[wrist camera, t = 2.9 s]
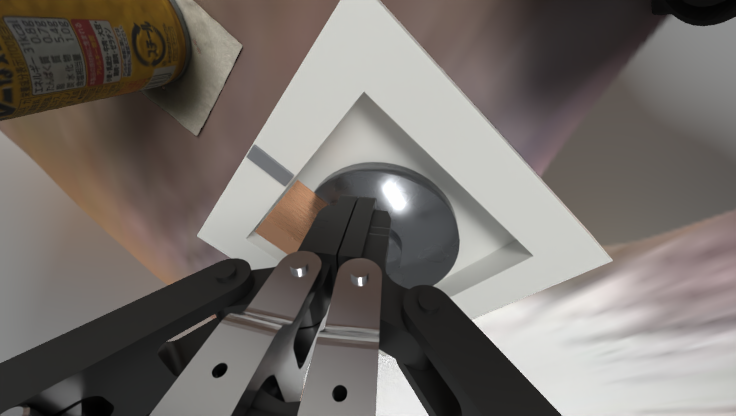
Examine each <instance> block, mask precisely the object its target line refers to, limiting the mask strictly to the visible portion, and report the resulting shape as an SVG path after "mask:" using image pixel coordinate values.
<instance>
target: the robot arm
mask: <svg viewBox="0 0 736 416" xmlns="http://www.w3.org/2000/svg"><path fill="white" fill-rule="evenodd" d="M376 207H377V198H372V197H362V196H359V197H358V196H351V195H340V197H339V199H338V201H337V203H336V205H335V206H334V205H327V206H325V207H324V208H323V209H321V210H320V211H319V212H318V214H317V216H316V218H315V220H314V221H313V223H312V225H311V228H310V229H309V230H308V232H307V234H306V236H305V238H304V239H303V241H302V243H301V245H300V247H299V249H298V250H297V252H293V253H291V254H289V255H287V256H285V257H284V258H283V259H282V260H281V261H280V262H279V263H278V265H277V266H276V267H271V268H263V269H255V270H251V267H250V265H249V263H248V262H247V261H245V260H243V259H239V258H232V259H226V260H223V261H220V262H218V263H216V264H214V265H212V266H209V267H207V268H205V269H203V270H201V271H199V272H196V273H194V274H192V275H190V276H188V277H186V278H183V279H181V280H179V281H177V282H175V283H173V284H171V285H168V286H166V287H164V288H162V289H160V290H158V291H155V292H153V293H151V294H149V295H147V296H145V297H143V298H140V299H138V300H136V301H134V302H132V303H130V304H127V305H125V306H123V307H121V308H119V309H117V310H114V311H112V312H110V313H108V314H106V315H104V316H102V317H100V318H97V319H95V320H93V321H91V322H89V323H86V324H84V325H82V326H80V327H78V328H76V329H73V330H71V331H69V332H67V333H65V334H63V335H61V336H59V337H56V338H54V339H52V340H50V341H48V342H45V343H43V344H41V345H39V346H37V347H35V348H32V349H30V350H28V351H26V352H24V353H22V354H20V355H17V356H15V357H13V358H11V359H9V360H7V361H4V362H2V363H0V416H375V414H376V394H377V374H378V354H379V350H381V351H383V352H385V353H386V354H388V355H390V356H392V357H394V358H395V359H396V361H397V364H398V366H399V367H400V369H401V371H402V372H403V374H404V376H405V377H406V379H407V380H408V382H409V384H410V385H411V387H412V389H413V390H414V392H415V394H416V395H417V397H418V398H419V400H420V402H421V403H422V405H423V407H424V408H425V410H426V411H427V413H428V415H429V416H562V415H561V414H560V413H559V412H558V411H557V410H556V409H555V408H554V407H553V406H552V405H551V404H550V403H549V401H548V400H547V399H546V398H545V397H544V396H543V395H542V394H541V393H540V392H539V391H538V390H537V389H536V388H535V387H534V386H533V385H532V384H531V383H530V381H529V380H528V379H527V378H526V377H525V376H524V375H523V374H522V373H521V372H520V371H519V370H518V369H517V368H516V367H515V366H514V365H513V364H512V363H511V362H510V360H509V359H508V358H507V357H506V356H505V355H504V354H503V353H502V352H501V351H500V350H499V349H498V348H497V347H496V346H495V345H494V344H493V343H492V342H491V340H490V339H489V338H488V337H487V336H486V335H485V334H484V333H483V332H482V331H481V330H480V329H479V328H478V327H477V326H476V325H475V324H474V323H473V322H472V320H471V319H470V318H469V317H468V316H467V315H466V314H465V313H464V312H463V311H462V310H461V309H460V308H459V307H458V306H457V305H456V304H455V303H454V302H453V301H452V299H451V298H450V297H449V296H448V295H447V294H446V293H445V292H443V291H442V290H440V289H438V288H436V287H434V286H430V285H417V286H414V287H412V288H410V289H407V288H405V287H403V286H400V285H398V284H397V283H395V282H394V281H392V280H391V279H390V277H389V276H388V275H387V273H386V265H387V258H388V251H389V241H390V230H391V217H390V215H389V213H388V211H382V210H376ZM329 305H330V306H329ZM328 308H329V311H328ZM327 311H328V315H327ZM214 314H215V315H216V317H217V318H215V319H213V320H211V321H210V322H208V323H206V324H204V325H203V326H201V327H199V328H197V329H196V330H194V331H192V332H190V333H189V334H187V335H185V336H183V337H182V338H180V339H178V340H175V341H171V342H166V341H168V340H169V339H171V338H173V337H174V336H176V335H178V334H180V333H181V332H183V331H185V330H187V329H189V328H190V327H192V326H194V325H196V324H197V323H199V322H201V321H203V320H205V319H206V318H208V317H210V316H212V315H214ZM324 326H325V327H324ZM311 358H312V359H311ZM310 361H311V363H310ZM309 363H310V367H309V371H308V375H307V379H306V383H305V387H304V391H303V395H302V399H301V401H300V398H301V394H302V390H303V382H304V377H305V374H306V371H307V368H308V366H309Z"/></svg>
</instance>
